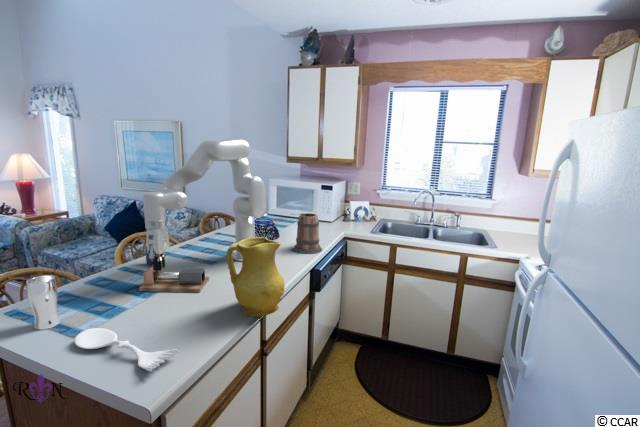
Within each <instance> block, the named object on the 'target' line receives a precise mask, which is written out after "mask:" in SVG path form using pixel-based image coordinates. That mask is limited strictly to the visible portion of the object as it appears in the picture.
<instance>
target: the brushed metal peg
mask: <svg viewBox="0 0 640 427" xmlns="http://www.w3.org/2000/svg"><path fill="white" fill-rule="evenodd" d="M160 260H161V262H162V256H160ZM179 272H180V271H179ZM179 272H178V271H177V272H175V271H174V272H173V271H171V272H170V271H163V269H162V270H161V271H156V272H154V273H153V277H154V280H179Z"/></svg>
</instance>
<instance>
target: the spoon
mask: <svg viewBox="0 0 640 427" xmlns="http://www.w3.org/2000/svg"><path fill="white" fill-rule="evenodd" d="M73 343H74V344H75V346H76V347H78V348H81V349H84V350H94V349H100V348H105V347H108V346H114V345H117V346H116V347H117V349H121V348H123V349H128V350H130V351H132V352H133V354H134V355H135V356H136V358H137V365H138V367H139V368H141V369H143V370H145V371H147V372H153V371H154V370H153V369H156V368H157V367H160V365H161V364H164V363H165V362H166V361H165V360H169V359H170V358H171V357H173V356H174V355H175V354H176V353H179V350H178V349H176V348H172V349H167V350H158V351H157V350H156V351H152V352H147V351H144V350H141V349H140V348H139V347H137V346H135V345H134V344H131V343H130V341H129V340H119V339H118V334H117V333H116V332H115V331H113V330H111V329H108V328H102V327H94V328H93V327H92V328H88V329H85V330H82V331H81V332H80V333H78V334H77V335H76V336H75V338H74V340H73Z"/></svg>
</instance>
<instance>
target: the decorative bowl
mask: <svg viewBox="0 0 640 427" xmlns="http://www.w3.org/2000/svg"><path fill="white" fill-rule="evenodd" d="M254 222H255V237H266V238H267V239H268V240H272V241H276V240H277V239H279V238H280V232H279V229H278V228H277V226H275V223H274V221H273V220H272V219H271V217H270V216H268V214H267V213H265V214H264V215H263V216H262V217H260V218H255V219H254ZM263 233H265V234H263Z"/></svg>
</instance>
